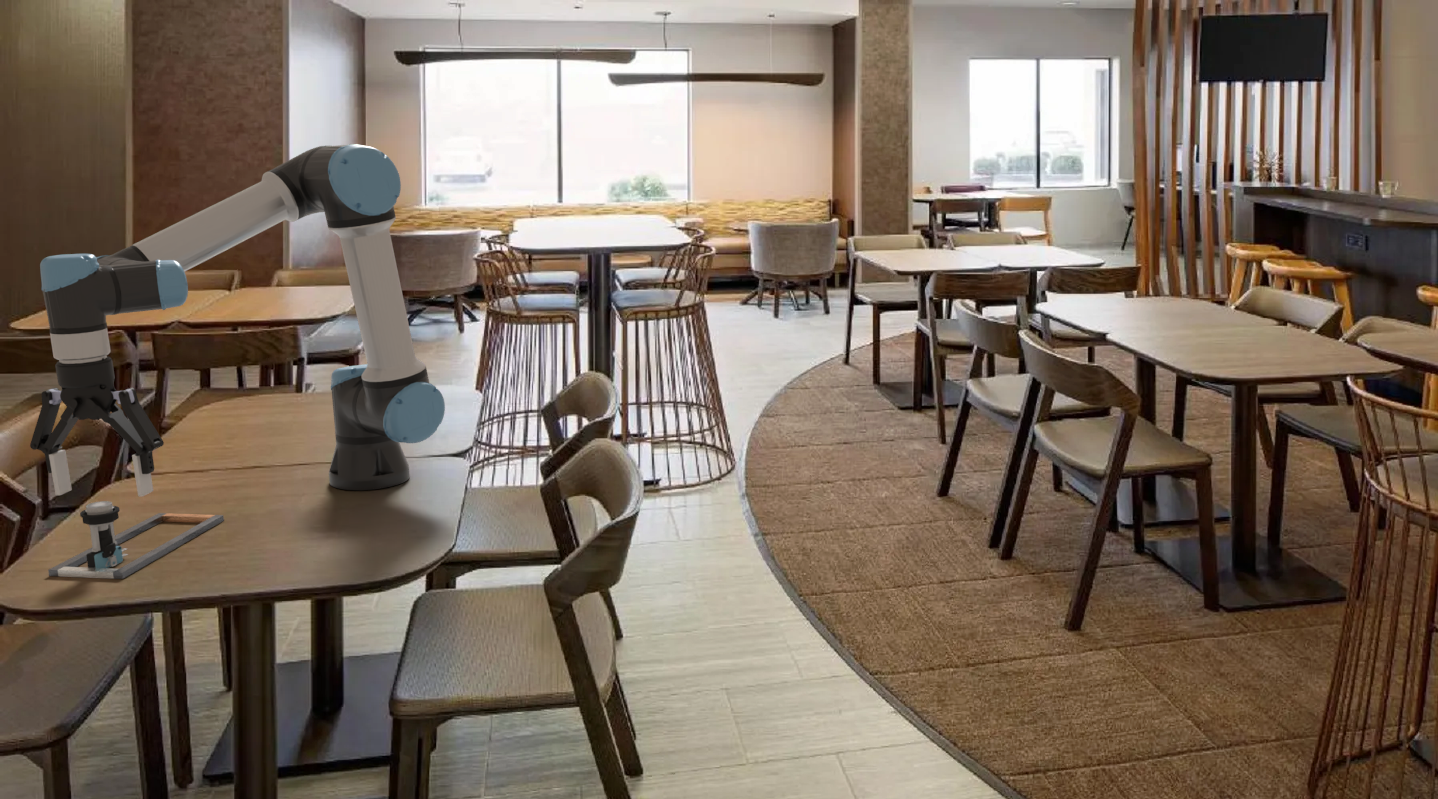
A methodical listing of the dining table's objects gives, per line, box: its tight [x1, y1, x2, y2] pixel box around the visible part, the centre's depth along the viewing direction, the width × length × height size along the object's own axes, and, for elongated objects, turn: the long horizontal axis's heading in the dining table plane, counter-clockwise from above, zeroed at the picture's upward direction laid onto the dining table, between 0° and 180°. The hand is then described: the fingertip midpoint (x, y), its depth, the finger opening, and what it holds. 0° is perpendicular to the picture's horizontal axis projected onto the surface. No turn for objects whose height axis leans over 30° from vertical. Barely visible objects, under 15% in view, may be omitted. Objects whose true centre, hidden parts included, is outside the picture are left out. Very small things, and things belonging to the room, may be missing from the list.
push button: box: [79, 500, 129, 568], centre depth 173 cm, size 7×5×10 cm
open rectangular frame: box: [47, 512, 225, 580], centre depth 182 cm, size 12×28×1 cm, turn 174°
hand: (104, 493), depth 172 cm, fingers open, 13 cm apart
